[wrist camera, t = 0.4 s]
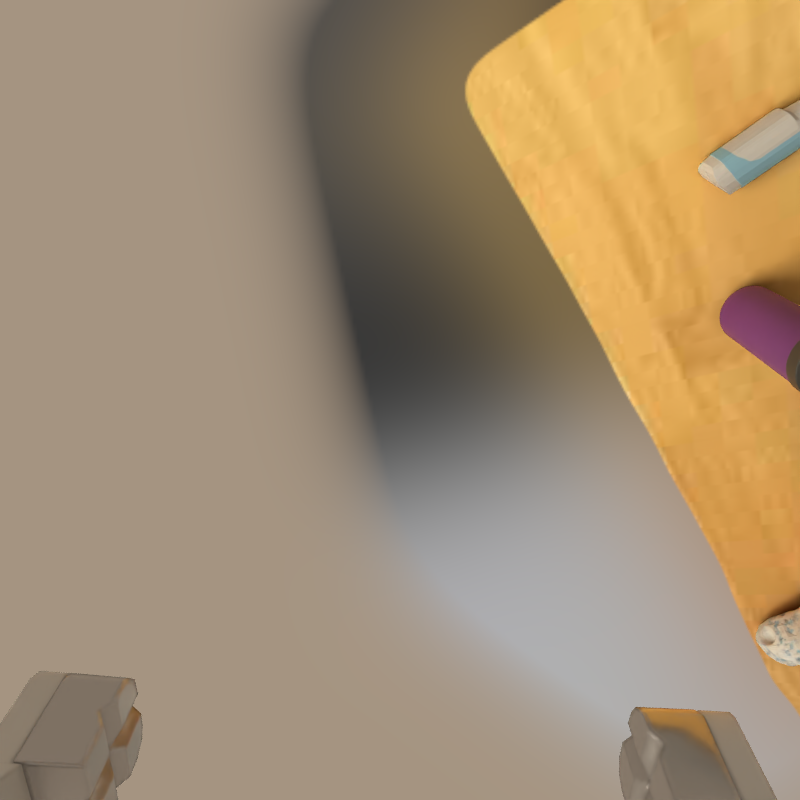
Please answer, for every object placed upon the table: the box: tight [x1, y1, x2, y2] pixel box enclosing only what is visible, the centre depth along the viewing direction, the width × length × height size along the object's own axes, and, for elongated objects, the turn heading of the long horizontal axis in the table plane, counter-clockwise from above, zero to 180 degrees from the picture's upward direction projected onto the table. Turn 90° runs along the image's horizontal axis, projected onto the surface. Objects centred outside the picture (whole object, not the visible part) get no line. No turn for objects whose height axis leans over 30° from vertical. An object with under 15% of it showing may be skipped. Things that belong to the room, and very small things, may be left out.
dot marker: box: [720, 286, 800, 391], centre depth 45 cm, size 4×4×12 cm
